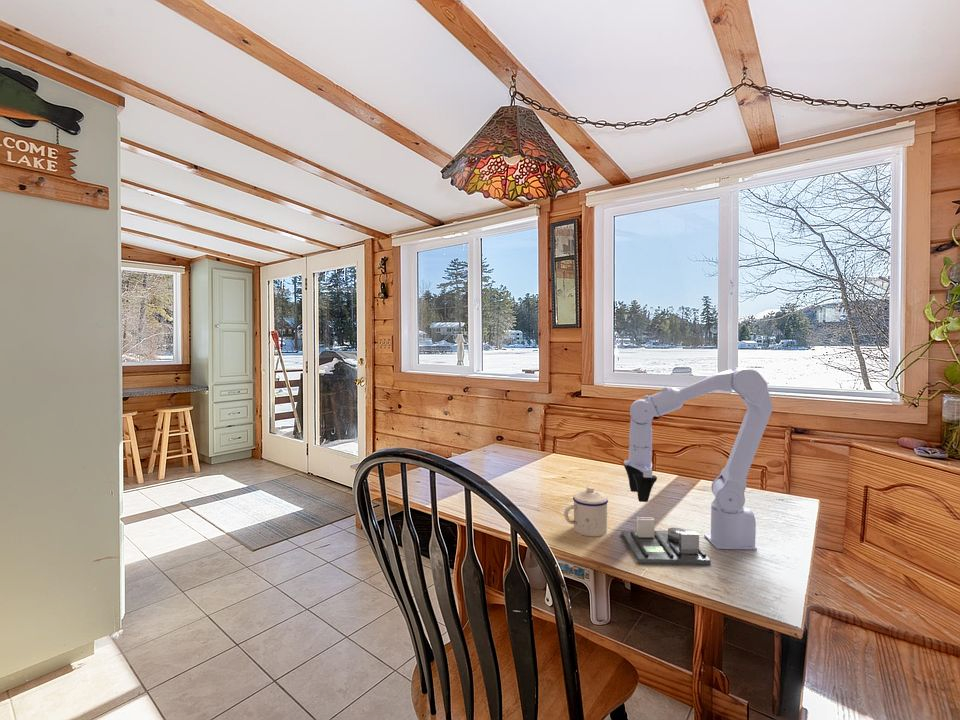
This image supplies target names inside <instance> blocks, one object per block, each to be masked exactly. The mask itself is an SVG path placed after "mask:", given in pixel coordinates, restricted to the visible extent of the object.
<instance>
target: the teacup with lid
mask: <svg viewBox="0 0 960 720" xmlns="http://www.w3.org/2000/svg"><path fill="white" fill-rule="evenodd" d="M572 500H573V504H571V505H569V506H566V508H565V509H564V512H563V516H564V518H565V520H566V522H567V523H569V524H571V525H573V530H574V531H575V532H576V533H577V534H579V535H581V536H586V537H594V538H595V537H601V536H604V535H605V534H607V531H608V502H609V500H608V496H606V495H605V494H603V493H601V492H599V491H597V490H595V488H594V487H593V486H587V487H586V489H585V490H582V491H579V492H575V493H574V495H573V496H572ZM570 510H573V520H571V519H569V511H570Z"/></svg>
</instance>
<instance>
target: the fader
mask: <svg viewBox="0 0 960 720" xmlns="http://www.w3.org/2000/svg"><path fill="white" fill-rule="evenodd" d="M655 523H656V522H655V519H654V517H647V516H646V517H645V516H643V517H642V516H641V517H636V530H637V536H638V537H654V531H655V528H656V527H655Z"/></svg>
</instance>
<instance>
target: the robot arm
mask: <svg viewBox="0 0 960 720" xmlns="http://www.w3.org/2000/svg"><path fill="white" fill-rule="evenodd" d="M732 390H733V391H734V392H735V393H737V394H738V395H739V396H740V398H741V400H742V401H743V403H744V404H745V406H746V408H747V409H746V411H745V415H744V417H743V419H742V422H741V424H740V427H739V430H738V432H737V436H736V438H735V440H734V442H733V443H734V444H733V446H732V449H731V450H730V453H729V457H728V458H727V462H726V464H725V466H724V467H723V468H722V470H721V471H720V474H719V475H718V476H717V477H716V478H715V479H714V480H713V481H712V483H711V489H710V490H711V492H712V494H713V496H714V500H713V501H712V502H711V505H710V533H704V534H703V536H704V537H705V538H706V539H707V540H708V542H710V543H711V544H712V545H713V547H715V548H716V549H719V550H757V549H758V547H757V546H756V536H757V535H756V533H757V532H756V530H757V523H756V518H755V517H756V516H755V514H754V512H753V511H752V509H751V508H748V507H744V506H745V503H746V498H745V497H746V496H745V491H746V489H747V477H748V474H749V472H750V469H751V466H752V464H753V461H754V460H755V459H754V458H755V455H756V454H757V451H758V448H759V445H760V443H761V440H762V439H763V435H764V433H765V431H766V427H767V425H768V422H769V420H770V417H771V414H772V412H773V408H774V407H773V403H772V402H773V401H772V400H771V395H770V393H769V389H768V382H767V381H766V380H765V379H764V377H763V376H762V375H761V374H760V372H758V371H757V370H755V369H751V368H748V367H745V366H736V367H734V368H732V369H728V370H724V371H721V372H717V373H715V374H714V373H713V374H712V375H709V376H708V377H706V378H703V379H701V380H699V381H696V382H694V383H691V384H690V385H689V384H688V385H686V386H685V387H682V388H680V389H678V388H676V387H673V386H672V387H671V386H670V387H667V386H664V387H662V388H661V391H658V392H656V393H654V394H652V395H651V394H650V395H648V394H646V395H643V398H644V399H643V398H639V399H636V400H635V401H633V402H632V403H631V405H630V408H629V415H630V417H631V418H630V420H629V424H630V426H629V431H628V432H629V435H628V437H629V440H628V442H629V443H628V460H623V468H625V469H624V470H625V471H626V473H627V478H628V485H629V489H630V492H632V493H637V499H638V502H640V503H648V502H649V498H650V495H651V491H652V488H653V486H654V485H655V483H656V482H657V480H658V477H657V476H656V474H655V475H653V462H652V456H653V428H652V422H653V419H654V417H656V418H657V417H658V418H659V417H660V416H664V415H666V414H669V413H672V412H674V411H677V410H679V409H682V407H683V405H684V404H685V402H686V401H690V400H692V399H695V398H698V397H701V396H703V395H706V394H709V393H712V392H715V391H722V392H730V393H731V392H733V391H732Z"/></svg>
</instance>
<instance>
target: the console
mask: <svg viewBox="0 0 960 720" xmlns="http://www.w3.org/2000/svg"><path fill="white" fill-rule="evenodd" d="M620 532H621V534H620V535H621V537H622V539H624V542H625V543H626V545H627V547H628V548H629V551H630V552H631V554H632V555H633V557H634V559H635V560H636V563H637V564H638V565H668V566H670V565H671V566H678V565H679V566H711V559H710V558H709V556H707V554H706V553H705V551H703V549H701V547H700V534H699V533H698V532H697V531H687V530H686V529H684V528H680V527H669V528H667V530H654V537H638V536H637V529H636V530H635V529H621V531H620Z"/></svg>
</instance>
